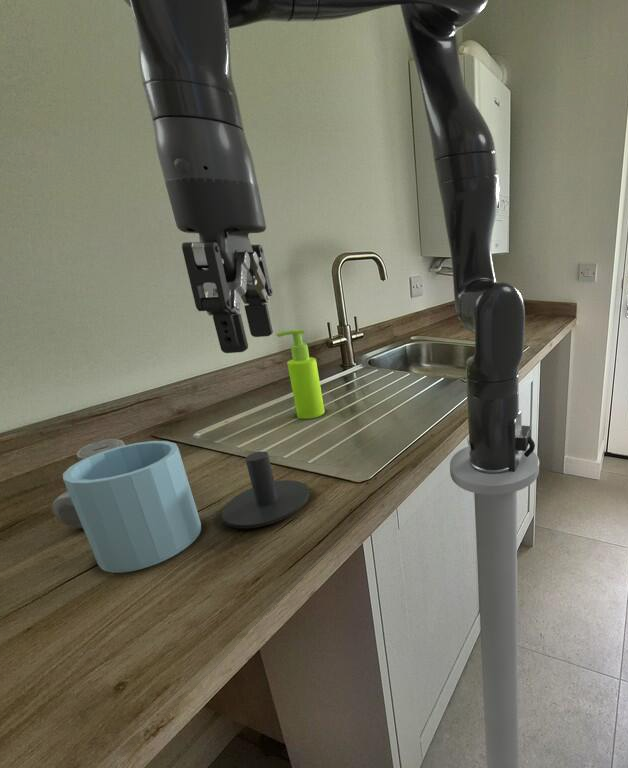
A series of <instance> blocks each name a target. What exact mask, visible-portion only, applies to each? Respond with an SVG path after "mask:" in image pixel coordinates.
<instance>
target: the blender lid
mask: <svg viewBox="0 0 628 768" xmlns="http://www.w3.org/2000/svg"><path fill="white" fill-rule="evenodd" d="M269 457H270V456H269V452H267V451H256V452H253V453H250V454H249V455H247V456H246V457H245V463H246V466H247V471H248V475H249V479H250V483H251V486H252V487H251V488H248V489H246V490H244V491H242V492H240V493H238V494H237V495H235V496H234V497H233V498H231V499H230V500H229V501H228V502H227V503H226V504H225V505H224V507H223V508H222V510H221V518H222V519H221V520H222V522H223V523H224V524H225V525H226V526H227V527H230V528H234V529H241V530H243V529H245V530H246V529H256V528H261V527H265V526H269V525H272V524H275V523H277V522H280V521H283V520H285V519H287V518H289V517H291V516H292V515H295V513H297V512H299V511H300V510H301V509H302V508H303V507H304V506H306V504H307V503H308V501H309V499H310V497H311V496H310V495H311V493H310V489H309V486H307V484H305V483H303V482H302V481H298V480H291V479H288V480H287V479H286V480H284V479H283V480H275V478H274V475H273V471H272V465H271V462H270V461H271V460H270V458H269Z"/></svg>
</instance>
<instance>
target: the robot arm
mask: <svg viewBox="0 0 628 768" xmlns="http://www.w3.org/2000/svg"><path fill="white" fill-rule="evenodd" d="M123 1H124V2H125V4H127V5H128V7H129V8H130V9H131V10H132V14H133V18H134V23H135V25H136V30H137V31H136V32H137V34H138V65H139V72H140V77H141V83H142V86H143V89H144V94H145V97H146V102H147V105H148V110H149V113H150V116H151V121H152V125H153V131H154V140H155V148H156V153H157V156H158V157H157V158H158V161H159V165H160V168H161V172H162V176H163V180H164V183H165V187H166V190H167V194H168V195H167V196H168V199H169V203H170V206H171V210H172V214H173V218H174V221H175V222H174V223H175V225H176V227H177V229H178V231H181V232H183V233H186V234H198V239H199V241H191V242H189V241H187V242H186V241H185V242H182V243H181V250H182V254H183V259H184V263H185V266H186V267H185V268H186V270H187V275H188V279H189V284H190V288H191V292H192V296H193V300H194V304H195V308H196V310H197V311H198V312H206V314H207V315H208V316H210V317H211V316H212V319H213V324H214V328H215V333H216V336H217V339H218V343H219V348H220V350H221V352H222V353H224V354H235V353H237V354H238V353H243V352H245V351H247V350H248V349H249V344H248V339H247V334H246V331H245V327H244V322H243V318H242V317H243V316H242V314H241V301H242V302H243V304H245V305H243V306H244V311H245V315H246V319H247V320H246V321H247V324H248V328H249V332H250V333H249V334H250V335H251V336H252V337H253V338H262V337H270V336H271V335H273V332H274V331H273V326H272V320H271V315H270V310H269V306H268V303H269V302H270V297H273V289H272V285H271V281H270V280H271V279H270V275H269V271H268V267H267V262H266V258H265V254H264V248H263V246H262V244H252V243H251V240H250V238H249V235H250V234H261V233H263V232H265V231H266V229H267V225H266V219H265V214H264V209H263V204H262V199H261V194H260V189H259V185H258V179H257V173H256V171H255V170H256V169H255V163H254V160H253V156H252V152H251V149H250V146H249V143H248V141H247V137H246V134H245V129H244V124H243V118H242V113H241V109H240V104H239V99H238V95H237V91H236V87H235V84H234V80H233V74H232V64H231V43H230V29H236V28H241V27H245V26H249V25H252V24H256V23H261V22H286V23H289V22H323V21H325V22H326V21H332V20H334V21H335V20H339V19H346V18H349V17H353V16H354V17H355V16H358V15H360V14H364V13H367V12H371V11H375V10H379V9H385V8H387V7H394V6H400V10H401V14H402V18H403V22H404V26H405V29H406V30H405V31H406V33H407V37H408V42H409V46H410V49H411V54H412V57H413V60H414V64H415V68H416V72H417V76H418V80H419V81H418V82H419V85H420V91H421V95H422V100H423V108H424V112H425V117H426V121H427V127H428V132H429V138H430V143H431V150H432V151H431V152H432V157H433V164H434V169H435V175H436V181H437V188H438V192H439V197H440V201H441V206H442V207H441V208H442V213H443V218H444V225H445V231H446V235H447V240H448V246H449V252H450V258H451V270H452V271H451V272H452V282H453V296H454V297H453V298H454V306H455V307H454V308H455V312H456V315H457V318H458V321H459V322H460V323H461V325H462V326H463V327H464V328H465V329H466V330H467V331H470V332H472V333H474V354H473V355H471V356H470V357H468V358H467V359H466V361H465V381H466V384H465V385H466V402H467V403H466V404H467V423H468V424H467V426H468V436H467V445H468V446H469V449H470V451H469V452H470V465H471V467H472V468H473V469H475V470H477V471H479V472H482V473H488V474H499V473H504V472H508V471H511V472H515V471H516V468H517V466H518V464H519V461H520V459H521V456H522V451H526V450H527V448H529V449H528V450H527V451H526V452H525V453H524V455H525V456H526V457H528V456H529V455H530V454H531V453H532V452H535V449H536V443H535V441H534V440H533V438H532V426H531V425H522V411H521V410H520V403H519V401H520V399H519V395H520V394H519V393H520V392H519V390H520V389H519V373H520V372H519V370H520V369H519V368H520V364H521V362H522V359H523V357H524V349H525V348H524V347H525V346H524V345H525V344H524V343H525V329H526V328H525V327H526V311H525V304H524V300H523V296H522V295H521V293H520V291H519V290H518V288H516V287H515V286H514V285H512V284H511V283H508V282H504V281H497V279H496V275H495V270H494V263H493V256H492V239H493V238H492V237H493V231H494V226H495V222H496V218H497V212H498V208H499V207H498V206H499V200H500V178H499V169H498V163H497V162H498V161H497V154H496V153H497V151H496V146H495V141H494V138H493V134H492V132H491V130H490V128H489V126H488V124H487V122H486V120H485V118H484V116H483V115H482V114H481V111H480V110H479V108H478V107H477V106H476V104H475V102H474V101H473V99H472V96H471V95H470V93H469V91H468V89H467V87H466V83H465V81H464V77H463V74H462V69H461V61H460V55H459V48H458V38H457V37H458V35H457V34H458V31H459V30H461V29H462V28H463V27H465V26H467V25H468V24H469V23H471V22H472V21H474V20H475V19H476V18H477V17H478V16H479V15H480V14H481V13H482V12H483V10H484V9H485V8H486V6H487V4H488V2H489V0H123ZM468 446H467V447H468Z"/></svg>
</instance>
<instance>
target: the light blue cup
mask: <svg viewBox="0 0 628 768" xmlns="http://www.w3.org/2000/svg"><path fill="white" fill-rule="evenodd" d="M62 480H63V483H64V486H65V488H66V487H67V490H68V492H69V495H70V497H71V500H72V502H73V505H74V507H75V509H76V512H77V514H78V517H79V519H80V522H81V524H82V526H83V529H82V530H83V531H84V533H85V536H86V539H87V541H88V543H89V546H90V548H91V552H92V553H93V556H94V558H95V561H96V563H97V565H98V567H99V568H100V569H101V570H103V571H104V572H108V573H114V574H118V573H119V574H123V573H130V572H134V571H139V570H143V569H146V568H149V567H152V566H155V565H158V564H160V563H163V562H165V561H167V560H168V559H171V558H172V557H174V556H176V555H177V554H179V553H181V552H183V551H184V550H185V549H187V548H189V546H191V544H193V543H194V542H195V541H196V540H197V539H198V537H199V536H200V534H201V531H202V522H201V519H200V516H199V513H198V509H197V506H196V503H195V499H194V496H193V492H192V489H191V486H190V483H189V478H188V476H187V471H186V468H185V466H184V462H183V460H182V455H181V452H180V449H179V446H178V445H177V443H175V442H172V441H168V440H150V441H142V442H141V441H140V442H134V443H129V444H125V446H120V447H117V448H113V449H110V450H107V451H103V452H100V453H98V454H95V455H93V456H90V457H88V458H85V459H83V460H81V461H79V460H78V462H76V463H74V464H72V465H70V466H69V467H68V468H67V469H66V470H65V471H64V472H63V473H62Z"/></svg>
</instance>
